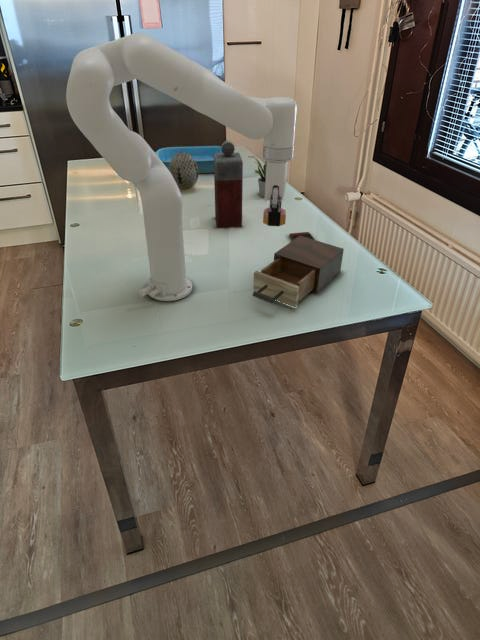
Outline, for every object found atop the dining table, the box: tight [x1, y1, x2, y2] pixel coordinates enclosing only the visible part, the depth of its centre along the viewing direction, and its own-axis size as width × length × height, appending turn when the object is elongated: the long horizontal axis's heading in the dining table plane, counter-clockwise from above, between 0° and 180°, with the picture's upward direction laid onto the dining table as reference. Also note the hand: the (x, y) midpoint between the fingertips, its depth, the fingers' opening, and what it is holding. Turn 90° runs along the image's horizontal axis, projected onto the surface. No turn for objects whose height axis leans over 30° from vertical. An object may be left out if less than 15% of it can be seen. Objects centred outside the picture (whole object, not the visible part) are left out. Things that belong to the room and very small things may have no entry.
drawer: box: [252, 258, 317, 308], centre depth 124 cm, size 19×13×6 cm
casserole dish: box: [154, 145, 223, 174], centre depth 214 cm, size 37×22×7 cm, turn 97°
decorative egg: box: [169, 152, 199, 191], centre depth 189 cm, size 12×12×15 cm
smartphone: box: [289, 231, 316, 241], centre depth 152 cm, size 7×1×15 cm
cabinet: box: [273, 236, 345, 295], centre depth 134 cm, size 14×14×8 cm
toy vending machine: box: [213, 140, 244, 229], centre depth 159 cm, size 9×11×28 cm
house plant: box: [253, 156, 267, 198], centre depth 183 cm, size 14×14×16 cm
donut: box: [262, 207, 287, 227], centre depth 125 cm, size 6×6×3 cm
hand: (274, 219), depth 126 cm, fingers closed on donut, 6 cm apart
